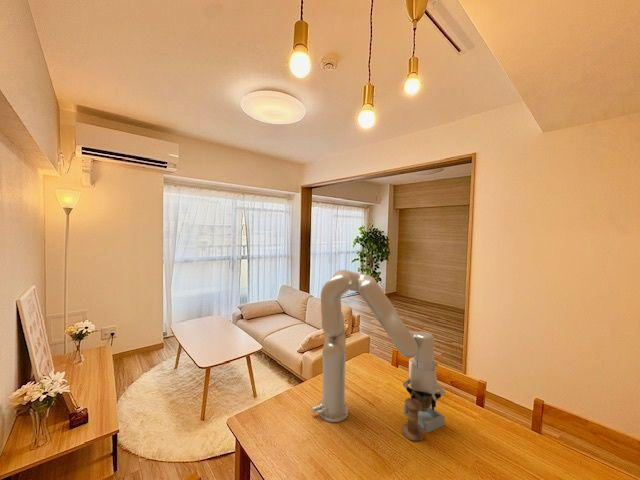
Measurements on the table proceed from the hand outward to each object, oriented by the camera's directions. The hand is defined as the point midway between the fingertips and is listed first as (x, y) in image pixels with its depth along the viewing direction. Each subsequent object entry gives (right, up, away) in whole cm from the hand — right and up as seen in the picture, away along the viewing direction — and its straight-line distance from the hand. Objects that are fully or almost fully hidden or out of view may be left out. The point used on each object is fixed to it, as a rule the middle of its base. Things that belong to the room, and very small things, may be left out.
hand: (423, 405), depth 106 cm
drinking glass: (+4, -6, +19) cm, 20 cm away
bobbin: (-7, -6, -7) cm, 12 cm away
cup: (0, -2, 0) cm, 2 cm away
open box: (0, -6, 0) cm, 6 cm away
